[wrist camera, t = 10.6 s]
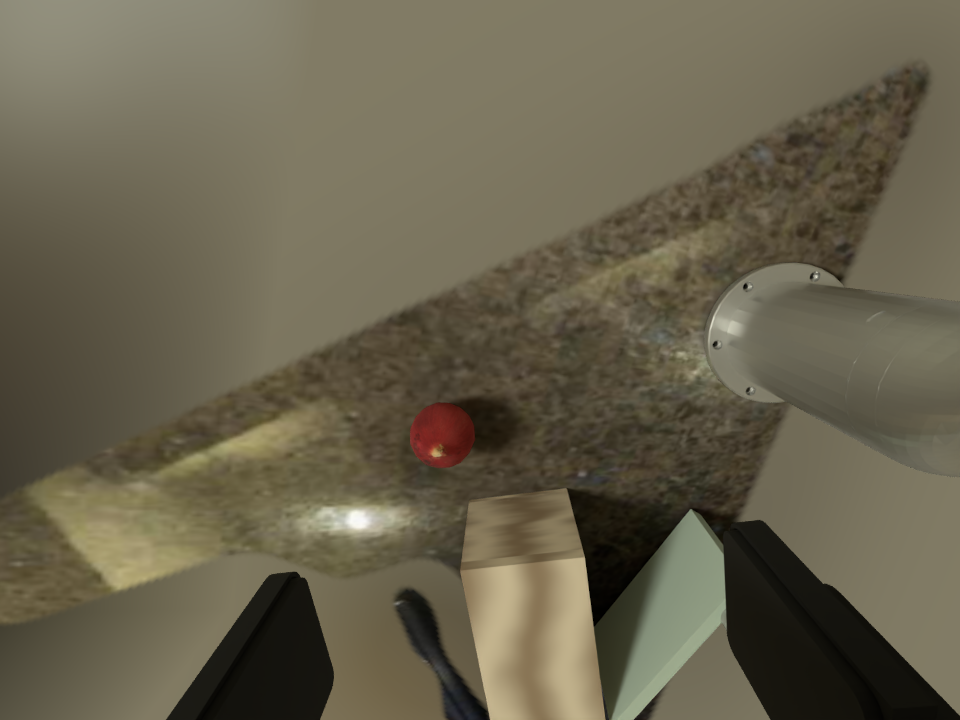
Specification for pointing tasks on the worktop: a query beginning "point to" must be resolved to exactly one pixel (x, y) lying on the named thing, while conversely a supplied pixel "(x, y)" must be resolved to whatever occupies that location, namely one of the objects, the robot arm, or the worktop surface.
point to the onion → (442, 435)
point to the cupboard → (531, 608)
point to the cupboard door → (661, 617)
